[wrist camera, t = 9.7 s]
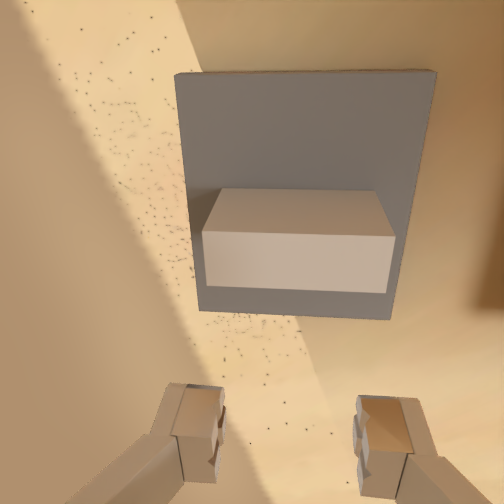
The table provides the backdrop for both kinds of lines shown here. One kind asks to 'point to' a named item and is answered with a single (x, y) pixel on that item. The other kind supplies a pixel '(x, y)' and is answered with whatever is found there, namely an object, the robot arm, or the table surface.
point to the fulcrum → (301, 186)
